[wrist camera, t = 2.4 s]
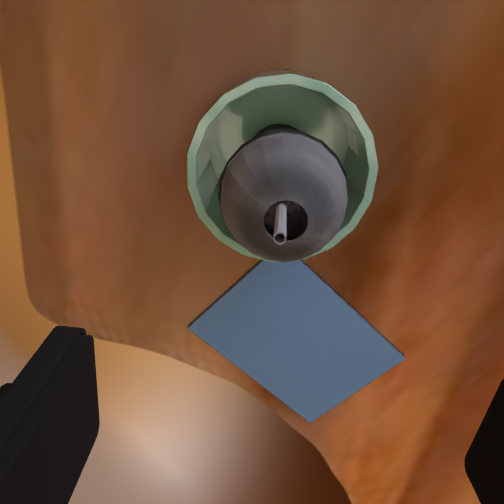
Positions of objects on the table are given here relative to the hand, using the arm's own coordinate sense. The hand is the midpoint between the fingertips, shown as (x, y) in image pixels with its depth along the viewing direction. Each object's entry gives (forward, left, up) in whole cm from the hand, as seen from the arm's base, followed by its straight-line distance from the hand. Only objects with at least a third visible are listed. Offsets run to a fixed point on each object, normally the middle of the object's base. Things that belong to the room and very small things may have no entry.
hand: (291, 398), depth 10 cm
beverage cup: (0, 0, -27) cm, 27 cm away
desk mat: (-15, +12, -27) cm, 33 cm away
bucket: (0, 0, -27) cm, 27 cm away
